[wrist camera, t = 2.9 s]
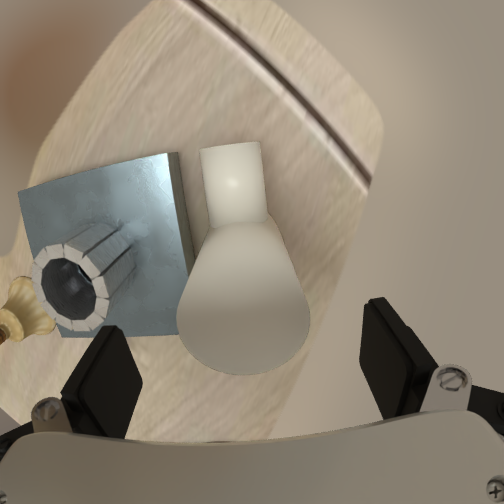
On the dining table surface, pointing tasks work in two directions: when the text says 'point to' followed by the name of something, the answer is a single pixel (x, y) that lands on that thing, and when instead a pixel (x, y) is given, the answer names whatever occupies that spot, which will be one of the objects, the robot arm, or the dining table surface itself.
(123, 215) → the vent box
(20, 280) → the hand bell
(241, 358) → the white tall branched piece
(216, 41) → the dining table surface
